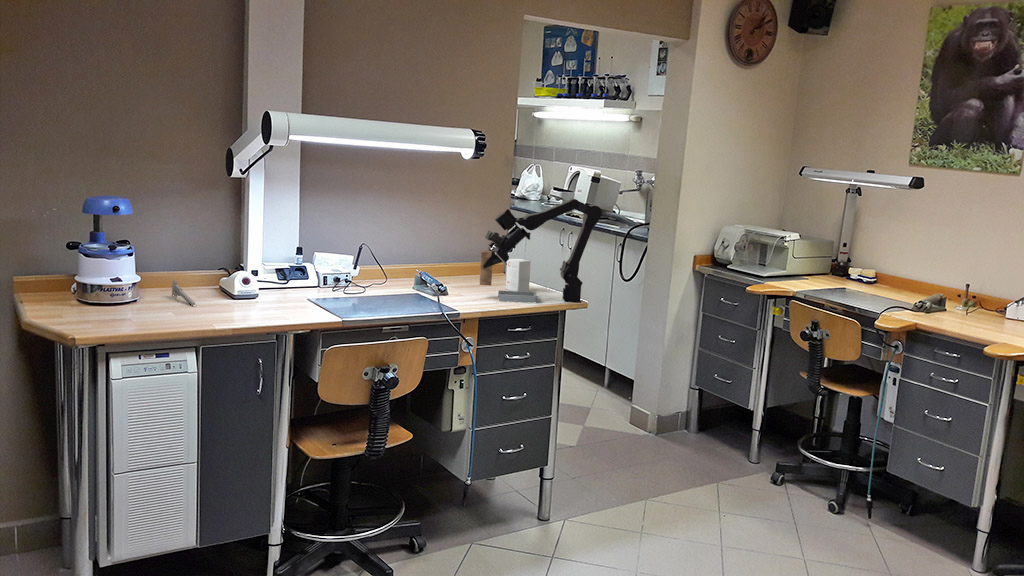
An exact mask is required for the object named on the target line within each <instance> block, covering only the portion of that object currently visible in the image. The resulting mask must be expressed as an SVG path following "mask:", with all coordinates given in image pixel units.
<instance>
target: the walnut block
mask: <svg viewBox="0 0 1024 576" xmlns="http://www.w3.org/2000/svg"><path fill="white" fill-rule="evenodd" d="M490 256H491V251H489V250H481V251H480V268H479V286H492V283H493V282H492V279H493V278H492V277H493V265H492V266H490V267H487V268H484V267H483V265H484V264H485V263H486V261H487V260H488V259H489V258H490Z"/></svg>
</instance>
